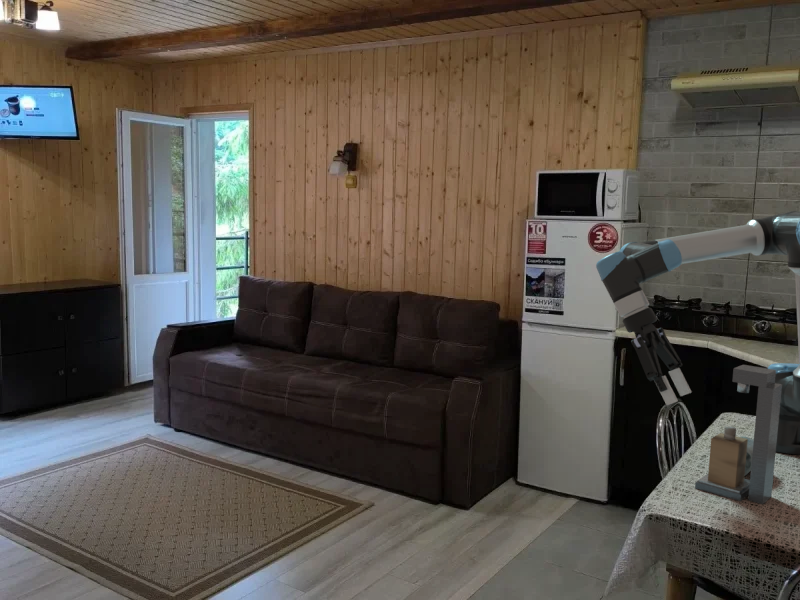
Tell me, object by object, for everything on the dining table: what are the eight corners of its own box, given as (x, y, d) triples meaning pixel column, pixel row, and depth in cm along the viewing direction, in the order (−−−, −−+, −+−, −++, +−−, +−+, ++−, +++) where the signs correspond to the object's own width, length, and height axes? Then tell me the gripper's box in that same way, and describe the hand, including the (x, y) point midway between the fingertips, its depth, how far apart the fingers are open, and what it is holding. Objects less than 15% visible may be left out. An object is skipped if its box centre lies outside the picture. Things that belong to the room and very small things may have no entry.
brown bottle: (717, 473, 168) (721, 422, 166) (743, 480, 164) (748, 428, 162) (707, 480, 164) (712, 427, 162) (734, 487, 160) (739, 434, 158)
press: (711, 477, 171) (721, 359, 167) (774, 494, 161) (786, 369, 158) (695, 488, 164) (705, 365, 160) (759, 506, 154) (771, 376, 150)
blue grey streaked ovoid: (756, 472, 166) (742, 430, 169) (716, 480, 171) (704, 440, 175) (775, 472, 175) (762, 432, 179) (737, 480, 181) (725, 441, 185)
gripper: (640, 311, 184) (682, 393, 179) (603, 325, 169) (647, 414, 165) (666, 300, 179) (709, 383, 174) (630, 313, 164) (676, 404, 160)
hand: (679, 398), depth 170 cm, fingers open, 8 cm apart
